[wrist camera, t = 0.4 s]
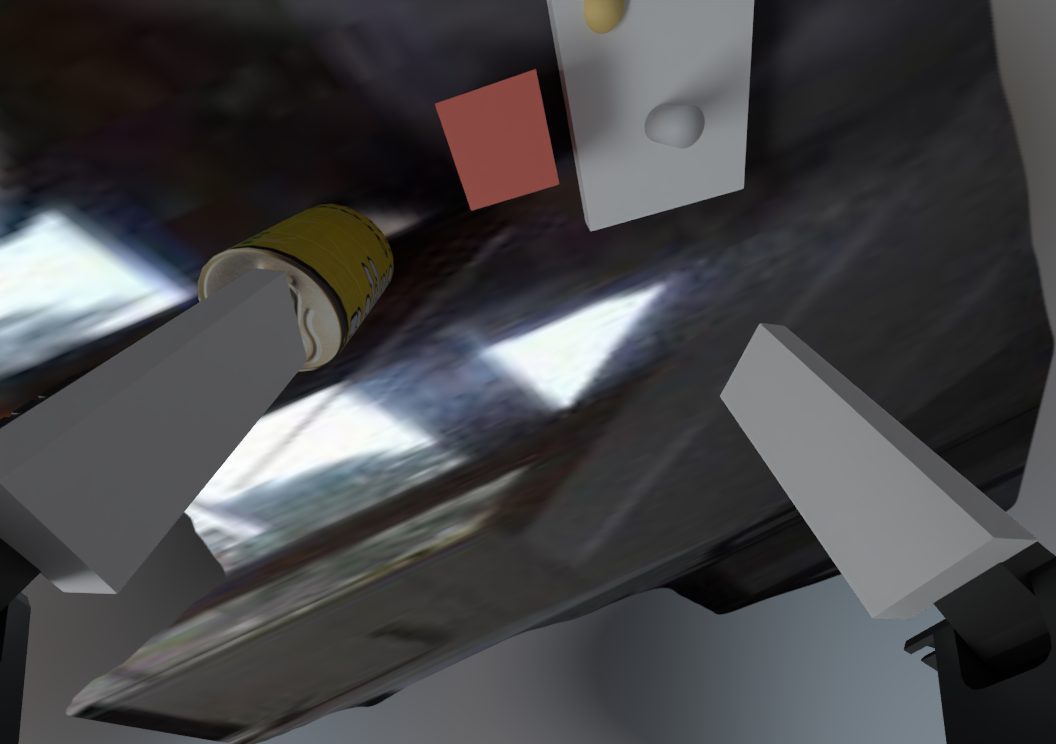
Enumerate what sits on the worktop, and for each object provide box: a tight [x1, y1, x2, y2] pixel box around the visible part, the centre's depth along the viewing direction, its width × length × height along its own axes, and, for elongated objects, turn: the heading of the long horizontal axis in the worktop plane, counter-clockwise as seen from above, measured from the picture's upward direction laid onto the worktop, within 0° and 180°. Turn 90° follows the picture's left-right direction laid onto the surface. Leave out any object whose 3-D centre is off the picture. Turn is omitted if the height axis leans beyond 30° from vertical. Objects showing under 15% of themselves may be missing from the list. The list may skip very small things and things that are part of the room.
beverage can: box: [198, 204, 394, 372], centre depth 30 cm, size 9×9×12 cm
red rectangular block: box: [435, 69, 559, 211], centre depth 26 cm, size 6×6×8 cm
